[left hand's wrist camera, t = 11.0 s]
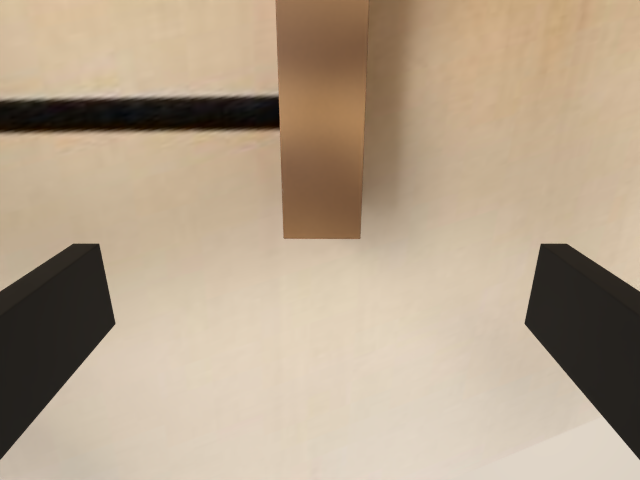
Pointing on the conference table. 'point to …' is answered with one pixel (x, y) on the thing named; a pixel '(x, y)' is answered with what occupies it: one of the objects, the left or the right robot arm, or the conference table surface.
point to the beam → (322, 115)
